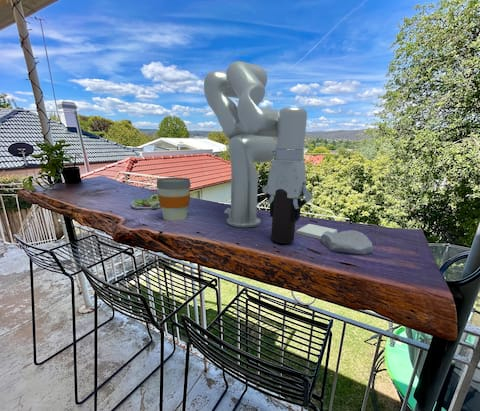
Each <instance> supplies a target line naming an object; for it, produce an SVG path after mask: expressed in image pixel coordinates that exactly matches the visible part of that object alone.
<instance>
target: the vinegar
mask: <svg viewBox="0 0 480 411" xmlns="http://www.w3.org/2000/svg"><path fill="white" fill-rule="evenodd" d="M297 200H298V199H297ZM293 208H294V204H293V199H289V198H287V192H286V191H285V190H283V189H278V190H276V191H275V196H274V203H273V217H271V218H272V219H271V232H270V238H271V240H272V241H274V242H276V243H280V244H290V243H293V241H295V234H296V233H295V231H296V222H297V221H296V222H292V221H291V219H292V209H293Z"/></svg>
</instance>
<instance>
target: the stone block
mask: <svg viewBox="0 0 480 411" xmlns="http://www.w3.org/2000/svg"><path fill="white" fill-rule="evenodd" d="M320 240H321V244H323V245H324V246H325V247H327V248H328V250H329V251H330V252H334V253H335V252H338V253H346V254H355V255H366V254H367V255H368V254H371V253H372V252H373V243H372V240H370V239H369V238H368V236H367V235H366V234H364V233H363V232H360V231H359V230H358V231H357V230H343V231H340V232H337V233H331V232H329V231H326V232H324V233H323V234H322V237H321V239H320Z"/></svg>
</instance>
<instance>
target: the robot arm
mask: <svg viewBox="0 0 480 411" xmlns="http://www.w3.org/2000/svg"><path fill="white" fill-rule="evenodd" d="M267 83H268V74H267V71H266V70H265V68H264V67H262V66H260V65H258V64H253V63H249V62H245V61H239V60H238V61H233V62H232V63H230V64H229V65H228V66H227V69H226V71H225V70H211V71H210V72H208V73H206V75H205V77H204V80H203V92H204V97H205V99H206V103H207V104H208V105H209V107H210V109H211V110H212V111H213V113H214V114H215V116H216V119H217V120H218V123H219V125H220V127H221V129H222V131H223V133H224V136H226V138H227V139H229V140H230V141H229V143H228V155H229V160H230V170H231V172H230V177H231V178H230V180H231V182H230V184H231V186H230V207H227V208H226V209H225V210H224V212H223V213H224V214H225V215H228V217H227V218H226V224H227V225H229V226H231V227H235V228H254V227H257V226H259V225H260V224H261V219H260V218H259V217H258V216H257V215H258V208H257V207H258V189H259V188H258V187H259V186H258V184H259V183H258V182H259V181H258V180H259V174H258V171H257V169H256V166H255V165H254V164H255V163H268V162H271V163H270V167H269V172H268V178H267V183H266V184H265V185H264V186H263V187H262V189H261V190H262V192H263V194H264V195H265V198H266V199H267V200H268V203H269V217H271V218H272V217H273V203H274V196H275V191H276V190H278V189H283V190H285V191H286V192H287V198H289V199H293V204H294V208H293V209H292V219H291V221H292V222H298V221H299V219H300V217H301V209H302V208H303V206H305V205H306V204H308V203H309V202H310V201H311V200H313V198H314V195H313V194H312V193H311V192H310V190H309V189H308V188H307V187H306V182H307V174H306V173H307V172H306V171H307V170H306V162H305V161H304V154H305V153H304V152H305V139H306V131H307V122H308V121H307V120H308V112H307V110H306V109H305V108H304V107H299V106H288V107H287V106H286V107H282V108H281V109H279V110H278V109H272V108H266V107H259V106H258V105H259V104H261V103H262V101H263V100H264V98H265V94H266V89H265V88H266V86H267ZM231 98H233V99H234V98H235V99H238V101H237V104H236V103H235V102H234V101H233V100H232V99H231ZM274 138H276V139H274ZM275 140H276V141H275ZM303 197H304V198H303ZM302 198H303V199H302ZM297 199H298V200H297Z"/></svg>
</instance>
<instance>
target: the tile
mask: <svg viewBox="0 0 480 411" xmlns="http://www.w3.org/2000/svg"><path fill="white" fill-rule="evenodd" d="M295 231H296V233H295V234H297V235H302V236H307V237H311V238H314V239H319V240H321V237H322V234H323V233H324V232H326V231H329V232H331V233H338V229H336V228H335V229H334V228H330V227H326V226H322V225H318V224H312V223H308V224H306V225H304V226H302V227H300V228H299V229H295Z"/></svg>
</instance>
